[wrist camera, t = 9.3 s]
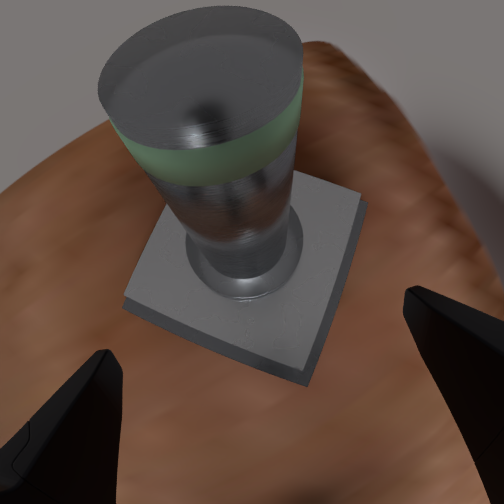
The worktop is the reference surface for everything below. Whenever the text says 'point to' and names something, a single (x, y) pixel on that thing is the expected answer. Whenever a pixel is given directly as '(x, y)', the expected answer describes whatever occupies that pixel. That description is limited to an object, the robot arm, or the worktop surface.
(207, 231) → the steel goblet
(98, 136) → the worktop surface
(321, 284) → the metal stand
